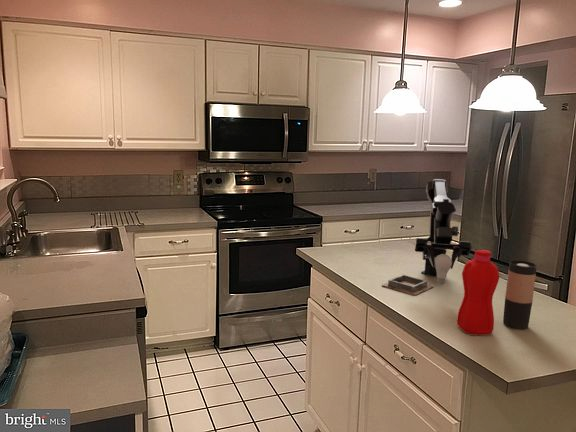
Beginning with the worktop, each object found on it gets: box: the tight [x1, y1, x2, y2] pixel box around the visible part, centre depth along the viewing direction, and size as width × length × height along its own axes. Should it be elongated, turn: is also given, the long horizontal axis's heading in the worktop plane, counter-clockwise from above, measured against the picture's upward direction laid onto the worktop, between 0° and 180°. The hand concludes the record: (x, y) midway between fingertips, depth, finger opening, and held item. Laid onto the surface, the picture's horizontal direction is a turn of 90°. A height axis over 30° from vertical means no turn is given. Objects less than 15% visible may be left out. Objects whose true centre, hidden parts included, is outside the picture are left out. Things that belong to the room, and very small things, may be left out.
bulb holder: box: [381, 274, 434, 297], centre depth 183 cm, size 14×14×2 cm
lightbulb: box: [434, 254, 452, 285], centre depth 168 cm, size 6×6×11 cm
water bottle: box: [456, 249, 500, 336], centre depth 144 cm, size 9×11×25 cm
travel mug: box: [502, 259, 538, 331], centre depth 148 cm, size 8×8×20 cm
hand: (442, 267), depth 167 cm, fingers closed on lightbulb, 6 cm apart
